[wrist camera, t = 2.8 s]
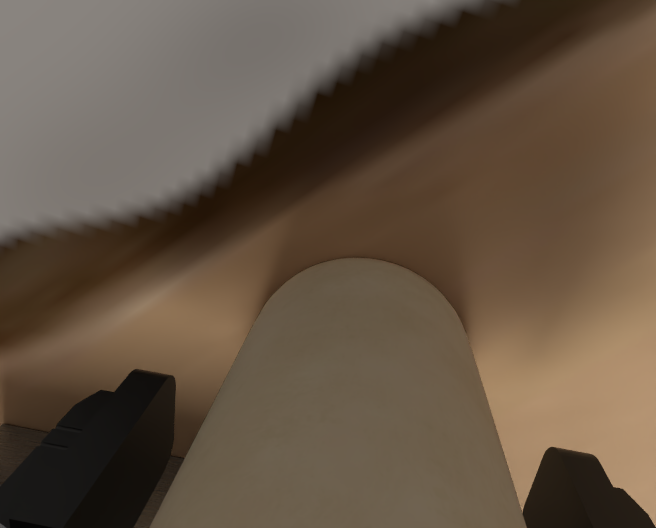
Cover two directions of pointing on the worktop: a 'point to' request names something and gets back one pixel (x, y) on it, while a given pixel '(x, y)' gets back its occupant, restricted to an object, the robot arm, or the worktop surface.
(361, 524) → the candle
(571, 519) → the robot arm
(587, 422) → the worktop surface
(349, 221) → the worktop surface
